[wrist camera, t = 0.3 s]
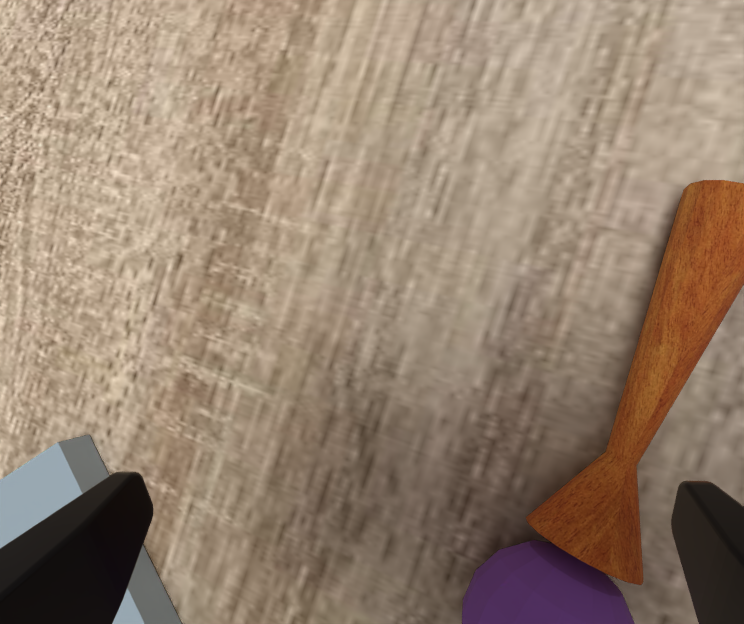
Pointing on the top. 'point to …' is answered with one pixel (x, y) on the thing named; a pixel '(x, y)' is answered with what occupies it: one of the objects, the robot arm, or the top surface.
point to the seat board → (56, 489)
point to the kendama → (623, 437)
